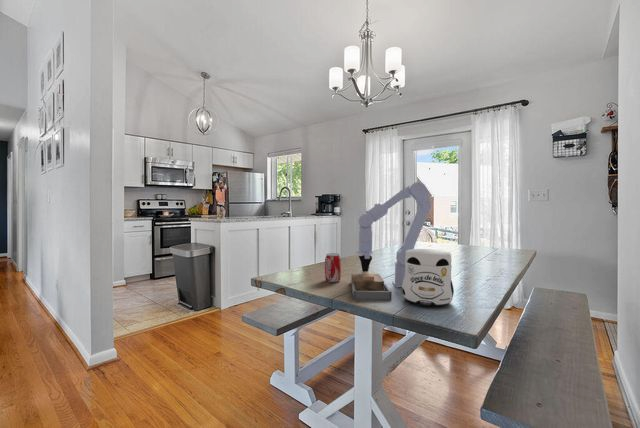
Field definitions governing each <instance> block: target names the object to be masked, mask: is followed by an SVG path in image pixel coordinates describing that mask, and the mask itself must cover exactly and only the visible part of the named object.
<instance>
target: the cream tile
mask: <svg viewBox="0 0 640 428" xmlns="http://www.w3.org/2000/svg"><path fill="white" fill-rule="evenodd" d="M359 274H360V275H361V277H362V274H373V272H372V271H368V272H367V271H362V270H361V271H360V273H359Z"/></svg>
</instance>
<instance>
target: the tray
mask: <svg viewBox="0 0 640 428" xmlns="http://www.w3.org/2000/svg"><path fill="white" fill-rule="evenodd" d="M351 293H352V298H353V300H355V301H358V300H359V301H360V300H361V301H362V300H363V301H366V300H367V301H377V300H378V301H392V296H393V294H392V293H393V292H392V291H391V289H390V287H389V285H387V284H385V283H384V291H356V289H355V286H354V284H352V283H351Z"/></svg>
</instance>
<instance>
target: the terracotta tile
mask: <svg viewBox="0 0 640 428" xmlns="http://www.w3.org/2000/svg"><path fill="white" fill-rule="evenodd" d="M373 274H374V273H372V274H362V280H374V276H373Z"/></svg>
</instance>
